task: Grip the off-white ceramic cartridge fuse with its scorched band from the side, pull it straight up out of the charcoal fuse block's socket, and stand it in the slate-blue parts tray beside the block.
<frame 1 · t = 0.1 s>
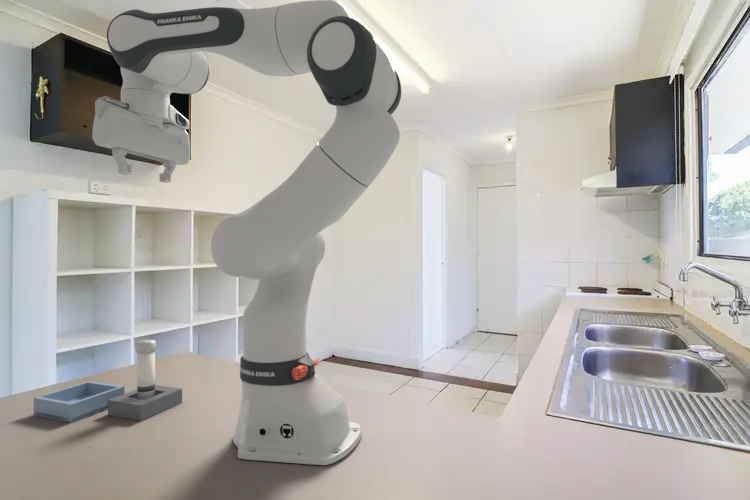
hand: (146, 178, 83), 48 cm above the counter, tool pointing down, fingers open, 8 cm apart
parts tray: (80, 408, 84), on the counter
fuse block: (146, 408, 84), on the counter
blown fuse: (146, 375, 84), in the fuse block
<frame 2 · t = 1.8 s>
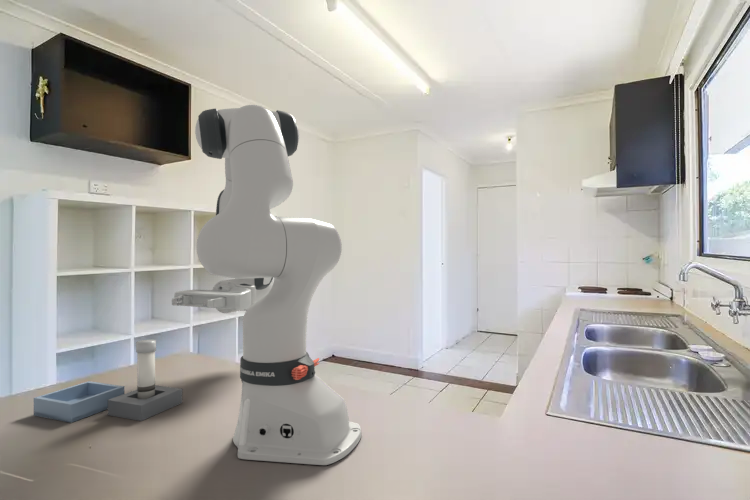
hand: (189, 303, 95), 20 cm above the counter, tool horizontal, fingers open, 8 cm apart
nothing on the counter moved.
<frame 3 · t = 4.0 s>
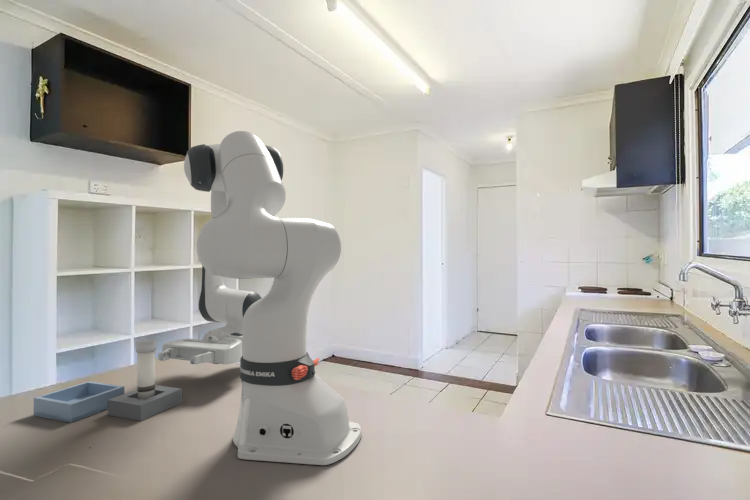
hand: (176, 358, 91), 8 cm above the counter, tool horizontal, fingers open, 8 cm apart
nothing on the counter moved.
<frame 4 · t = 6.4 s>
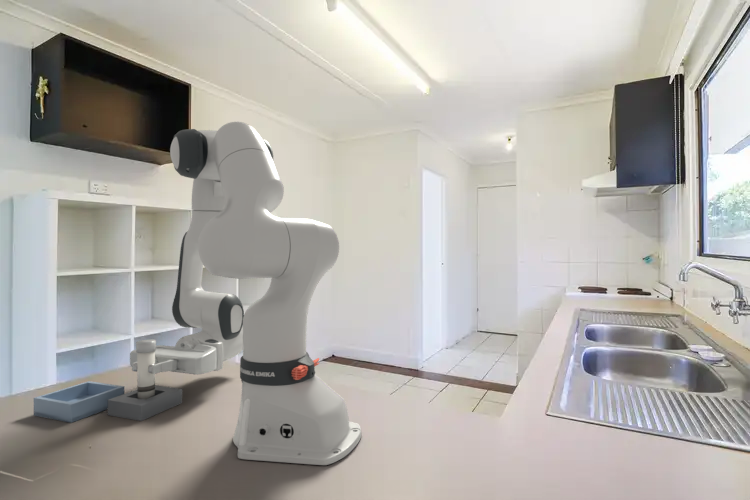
hand: (142, 368, 83), 9 cm above the counter, tool horizontal, fingers closed on blown fuse, 3 cm apart
blown fuse: (146, 374, 84), in the fuse block, touching gripper
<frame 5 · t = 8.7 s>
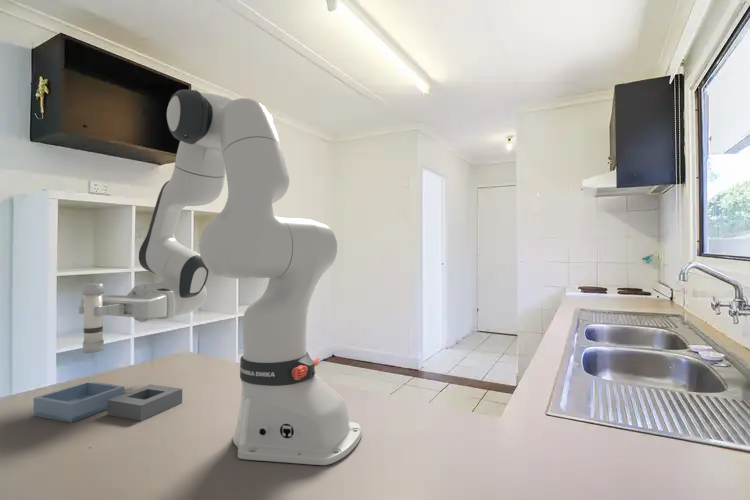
hand: (88, 310, 84), 20 cm above the counter, tool horizontal, fingers closed on blown fuse, 3 cm apart
blown fuse: (93, 317, 84), point 19 cm above the counter, touching gripper
when the fingers open (11 cm above the counter, at t = 11.5 s): blown fuse drops 1 cm, resting on parts tray.
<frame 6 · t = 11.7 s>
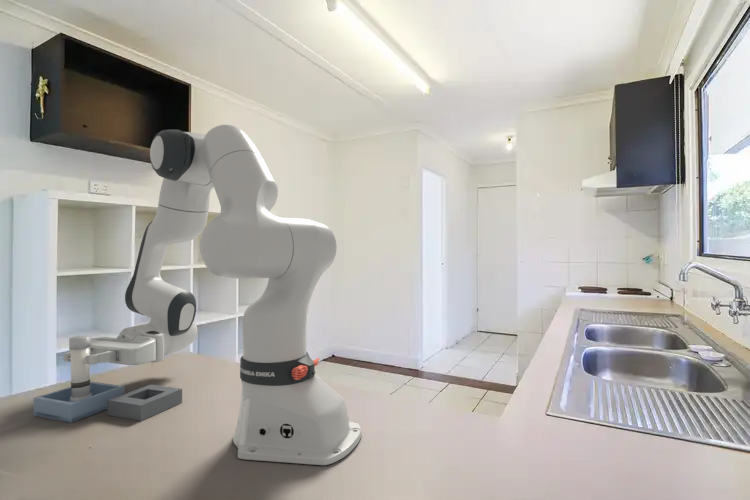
hand: (76, 359, 83), 11 cm above the counter, tool horizontal, fingers open, 5 cm apart
blown fuse: (80, 371, 84), in the parts tray, point 8 cm above the counter
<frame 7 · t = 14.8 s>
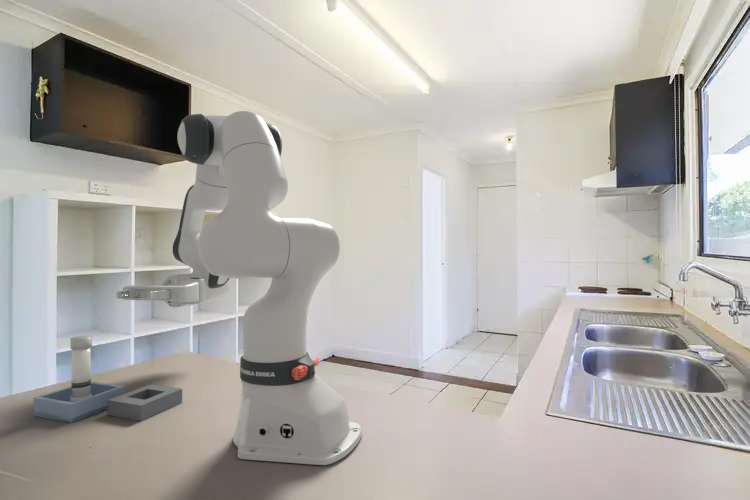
hand: (133, 295, 95), 22 cm above the counter, tool horizontal, fingers open, 8 cm apart
nothing on the counter moved.
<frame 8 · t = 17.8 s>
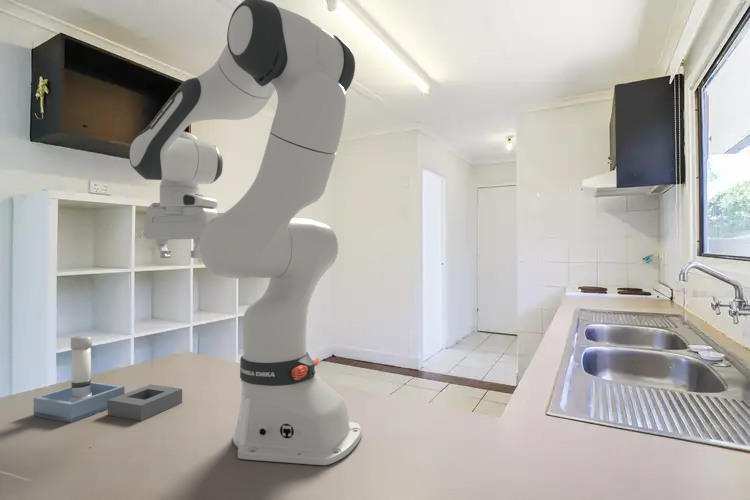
hand: (180, 258, 97), 31 cm above the counter, tool pointing down, fingers open, 8 cm apart
nothing on the counter moved.
at the end: blown fuse inside the target area on the parts tray (0.0 cm from its centre), point 7.8 cm above the parts tray's base; the gripper is holding nothing; blown fuse moved 13.7 cm from its start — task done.
